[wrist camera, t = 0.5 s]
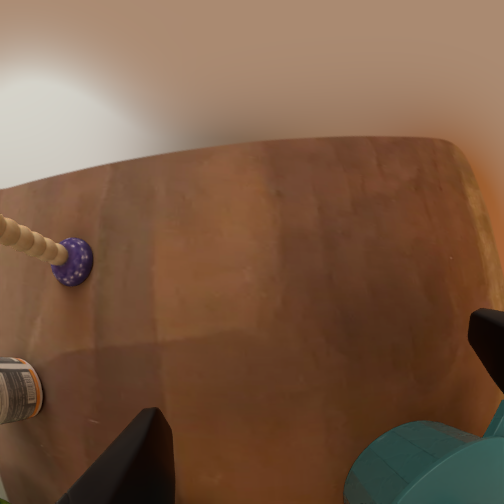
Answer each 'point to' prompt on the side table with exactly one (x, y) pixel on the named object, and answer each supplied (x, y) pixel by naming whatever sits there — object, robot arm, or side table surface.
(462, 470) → the pot lid
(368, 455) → the pot
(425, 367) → the side table surface
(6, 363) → the pill bottle
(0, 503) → the lettuce
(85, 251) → the toy lamp
